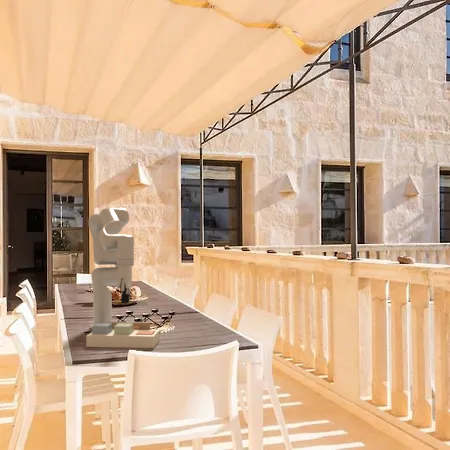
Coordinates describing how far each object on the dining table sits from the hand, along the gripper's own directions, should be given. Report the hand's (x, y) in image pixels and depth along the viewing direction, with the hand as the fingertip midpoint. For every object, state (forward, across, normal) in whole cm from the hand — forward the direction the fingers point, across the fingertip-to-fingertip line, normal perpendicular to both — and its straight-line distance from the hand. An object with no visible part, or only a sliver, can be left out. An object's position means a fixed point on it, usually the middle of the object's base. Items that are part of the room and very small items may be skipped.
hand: (125, 302), depth 231 cm
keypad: (+19, -1, 0) cm, 19 cm away
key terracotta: (+17, +1, +10) cm, 20 cm away
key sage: (+14, 0, 0) cm, 14 cm away
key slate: (+14, 0, -10) cm, 18 cm away
